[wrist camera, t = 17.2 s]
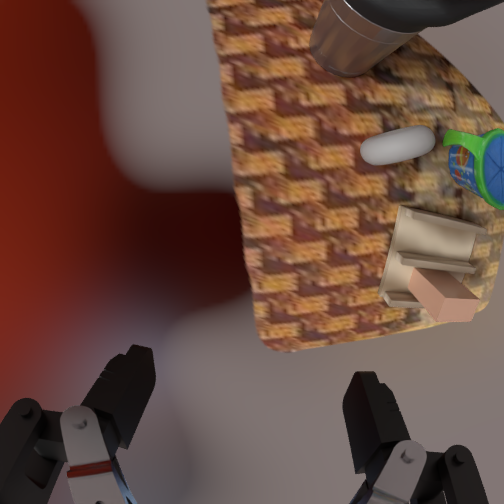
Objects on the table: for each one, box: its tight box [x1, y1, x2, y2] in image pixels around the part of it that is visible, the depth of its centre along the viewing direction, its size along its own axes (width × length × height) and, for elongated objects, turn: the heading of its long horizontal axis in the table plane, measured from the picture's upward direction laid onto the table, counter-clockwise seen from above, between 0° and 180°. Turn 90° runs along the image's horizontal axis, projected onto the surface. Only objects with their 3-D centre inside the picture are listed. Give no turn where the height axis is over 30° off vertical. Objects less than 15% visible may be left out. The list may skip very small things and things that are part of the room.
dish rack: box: [378, 205, 487, 308], centre depth 37 cm, size 14×16×4 cm
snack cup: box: [442, 128, 504, 210], centre depth 29 cm, size 16×10×10 cm
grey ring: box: [360, 125, 435, 165], centre depth 29 cm, size 10×4×10 cm, turn 112°
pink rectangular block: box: [408, 267, 480, 322], centre depth 34 cm, size 4×7×10 cm, turn 84°
